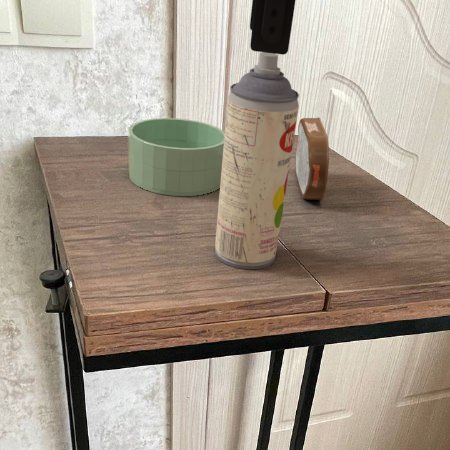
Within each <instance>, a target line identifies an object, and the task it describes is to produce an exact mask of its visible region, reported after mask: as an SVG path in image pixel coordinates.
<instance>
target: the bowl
mask: <svg viewBox="0 0 450 450" xmlns="http://www.w3.org/2000/svg"><path fill="white" fill-rule="evenodd" d="M224 137H225V130H222V129H221V128H219V127H217V126H215V125H213V124H210V123H206V122H202V121H199V120H193V119H189V118H188V119H186V118H177V117H162V118H161V117H159V118H158V117H157V118H149V119H142V120H139V121H136V122H134V123H133V124H131V125H130V126H129V127H128V130H127V148H128V149H127V150H128V151H127V152H128V155H127V157H128V160H127V161H128V177H129V180H130V181H131V183H132V184H134V185H135V186H137V187H139V188H140V187H141V188H140V189H142V188H143V190H145V191H147V190H148V192H151V193H155V194H158V195H163V196H164V195H165V196H171V197H172V196H173V197H198V196H204V195H208V194H207V193H209V194H211V193H210V192H212V193H214V192H216V191H215V190H217V189H218V190H220V189H219V188H220V183H221V171H222V160H223V148H224ZM218 190H217V191H218ZM213 191H214V192H213ZM203 194H204V195H203ZM197 195H198V196H197Z"/></svg>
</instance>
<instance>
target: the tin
mask: <svg viewBox="0 0 450 450" xmlns="http://www.w3.org/2000/svg"><path fill="white" fill-rule="evenodd" d="M297 134H298V135H297V146H296V151H295V157H294V159H295V160H294V161H295V163H294V164H295V165H294V167H295V176H296V181H297V184H298V188H299V192H300V195H301V198H302V199H303V200H309V201H310V200H314V201H315V200H317V201H322V200H324V197H325V194H326V190H327V185H328V179H329V178H328V177H329V176H328V175H329V166H330V165H329V164H330V145H329V144H330V142H329V137H328V134H327V132H326V130H325V127H324V124H323V122H322V120H321V117H320V116H319V117H302V118H300V120H299V122H298V126H297Z"/></svg>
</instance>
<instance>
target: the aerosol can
mask: <svg viewBox="0 0 450 450" xmlns="http://www.w3.org/2000/svg"><path fill="white" fill-rule="evenodd" d="M278 61H279V54H274V53H265V52H259V56H258V62H257V64H255V65H254V66H253V68H250V69H249V72H247V73H245V74H243V75H242V77H240V79H239V81H238V82H236V83H233V84H231V85H230V89H229V90H230V92H229V94H228V95H227V104H226V114H225V115H226V116H225V128H224V132H225V137H224V148H223V160H222V171H221V183H220V189H219V197H218V207H217V220H216V230H215V231H216V232H215V243H214V246H215V247H214V256H215V257H216V259H217V260H219V261H220V262H221V263H223V264H224V265H227V266H229V267H232V268H235V269H236V268H237V269H241V270H259V269H261V270H262V269H264V268H268V267H270V266H271V265H273V264H274V263H275V260H276V258H277V257H276V255H277V251H278V250H277V249H278V244H279V237H280V231H281V225H282V218H283V211H284V204H285V199H286V192H287V187H288V186H287V185H288V179H289V178H288V177H289V174H290V173H289V172H290V166H291V160H292V154H293V153H292V152H293V147H294V140H295V133H296V128H297V127H296V126H297V120H298V114H299V109H300V104H299V100H298V98H299V97H300V94H299V92H298V91H296V90H295V89H293V88H292V85H291V82H290V80H289V78H286V76H285V73H284V72H282V71H281V68H280V67H278Z"/></svg>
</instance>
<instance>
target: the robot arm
mask: <svg viewBox="0 0 450 450" xmlns="http://www.w3.org/2000/svg"><path fill="white" fill-rule="evenodd" d="M296 1H297V0H252V2H251V11H250V20H249V29H250V31H251V35H250V43H249V44H250V45H249V46H250V47H249V48H250V49H251V50H252V52H256V53H257V52H259V53H262V52H265V53H274V54H277V55H287V53H288V51H289V48H290V40H291V36H292V35H291V33H292V29H293V21H294V13H295V12H294V11H295V6H296Z"/></svg>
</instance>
